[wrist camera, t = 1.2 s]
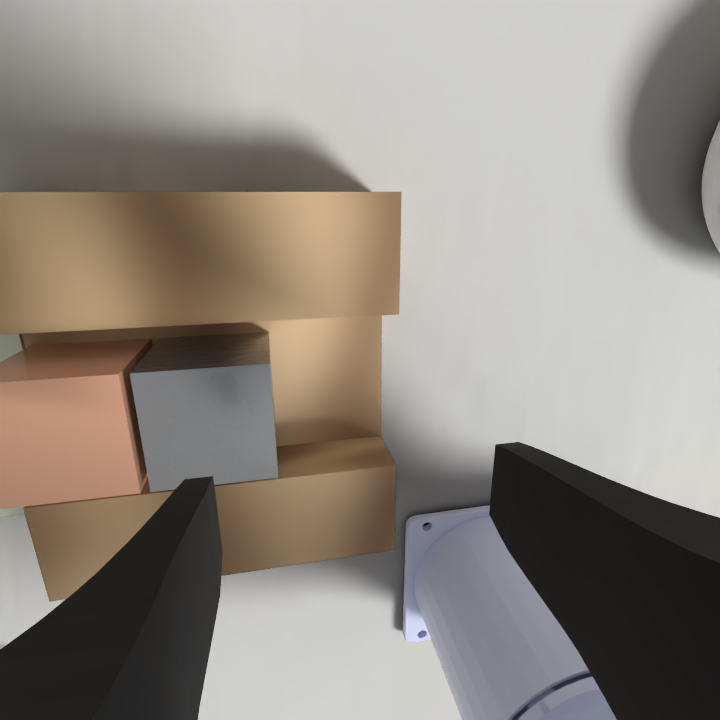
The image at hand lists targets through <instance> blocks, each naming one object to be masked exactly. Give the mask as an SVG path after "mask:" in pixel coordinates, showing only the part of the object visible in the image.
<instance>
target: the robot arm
mask: <svg viewBox="0 0 720 720" xmlns="http://www.w3.org/2000/svg"><path fill="white" fill-rule="evenodd" d="M427 522H429V524H428V525H426V526H423V524H425V523H427ZM222 555H223V550H222V542H221V534H220V526H219V518H218V511H217V503H216V495H215V487H214V479H213V476H209V477H200V478H191V479H184V480H183V482H182V483H181V484H180V485H179V486H178V487H177V488H176V489H175V490H174V491H173V493H172V494H171V495H170V496H169V497H168V498H167V499H166V501H165V502H164V503H163V504H162V505H161V506H160V507H159V509H158V510H157V511H156V512H155V513H154V514H153V515H152V516H151V518H150V519H149V520H148V521H147V522H146V523H145V524H144V525H143V526H142V527H141V528H140V530H139V531H138V532H137V533H136V534H135V535H134V536H133V537H132V538H131V539H130V540H129V541H128V542H127V543H126V544H125V545H124V546H123V547H122V548H121V549H120V550H119V551H118V552H117V553H116V554H115V555H114V556H113V557H112V558H111V559H110V560H109V561H108V562H107V563H106V564H105V565H104V566H103V567H102V568H101V569H100V570H99V571H98V572H97V573H96V574H95V575H94V576H92V577H91V578H90V579H89V580H88V581H87V582H86V583H85V584H83V585H82V586H81V587H80V588H79V589H78V590H77V591H75V592H74V593H73V594H72V595H71V596H69V597H68V598H67V599H66V600H65V601H63V602H62V603H61V604H60V605H59V606H57V607H56V608H55V609H54V610H53V611H51V612H50V613H49V614H48V615H46V616H45V617H44V618H43V619H41V620H40V621H39V622H37V623H36V624H35V625H33V626H32V627H31V628H29V629H28V630H27V631H25V632H24V633H22V634H21V635H20V636H18V637H17V638H16V639H14V640H13V641H12V642H10V643H9V644H8V645H6V646H5V647H3V648H2V649H1V650H0V720H198V713H199V706H200V700H201V695H202V690H203V684H204V679H205V674H206V668H207V663H208V657H209V652H210V647H211V641H212V636H213V631H214V625H215V620H216V614H217V609H218V603H219V597H220V586H221V572H222ZM403 635H404V638H405V640H406V641H408V642H417V641H422V640H427V639H431V640H432V643H433V645H434V648H435V650H436V653H437V656H438V658H439V661H440V663H441V666H442V668H443V671H444V674H445V676H446V679H447V681H448V684H449V686H450V689H451V692H452V694H453V697H454V699H455V702H456V705H457V707H458V710H459V712H460V715H461V717H462V720H720V518H719V517H715V516H712V515H708V514H705V513H702V512H699V511H695V510H692V509H689V508H686V507H683V506H680V505H677V504H673V503H670V502H668V501H665V500H662V499H659V498H656V497H653V496H651V495H648V494H645V493H643V492H640V491H638V490H635V489H632V488H630V487H627V486H624V485H622V484H619V483H617V482H615V481H612V480H610V479H607V478H605V477H602V476H600V475H598V474H595V473H593V472H591V471H588V470H586V469H584V468H581V467H579V466H577V465H574V464H572V463H570V462H567V461H565V460H563V459H560V458H558V457H556V456H554V455H551V454H549V453H546V452H544V451H542V450H539V449H537V448H534V447H531V446H529V445H526V444H522V443H519V442H515V443H506V444H497V445H496V446H495V457H494V467H493V478H492V488H491V499H490V505H487V506H480V507H473V508H465V509H458V510H451V511H443V512H436V513H429V514H421V515H415V516H412V517H410V518H409V519H408V520H407V522H406V535H405V570H404V606H403Z"/></svg>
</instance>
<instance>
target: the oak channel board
mask: <svg viewBox="0 0 720 720" xmlns="http://www.w3.org/2000/svg"><path fill="white" fill-rule="evenodd" d="M400 237H401V192H0V335H5V334H22V337H23V341H24V345H25V348H27V347H28V346H30V345H41V344H59V343H77V342H95V341H113V340H131V339H149V338H151V341H152V346H153V345H154V344H155V343H156V342H157V340H158V339H159V338H167V337H185V336H203V335H221V334H239V333H257V332H269V339H270V353H271V367H272V380H273V394H274V408H275V422H276V440H277V461H278V478H270V479H262V480H253V481H244V482H235V483H227V484H218V485H214V487H215V495H216V503H217V511H218V518H219V526H220V534H221V542H222V550H223V555H222V572H221V576H223V575H230V574H236V573H243V572H250V571H256V570H263V569H270V568H276V567H283V566H290V565H297V564H303V563H310V562H317V561H323V560H330V559H337V558H343V557H350V556H357V555H363V554H370V553H377V552H384V551H390V550H395V498H396V464H395V462H394V461H393V459H392V457H391V455H390V453H389V451H388V449H387V447H386V445H385V443H384V441H383V439H382V437H381V345H382V315H395V314H399V289H400ZM174 490H175V489H174ZM174 490H165V491H156V492H150V486H149V481H148V477H147V480H146V482H145V484H144V486H143V489H142V491H141V493H139V494H130V495H121V496H112V497H104V498H95V499H86V500H77V501H68V502H60V503H51V504H42V505H33V506H25V507H24V508H23V509H24V513H25V516H26V520H27V523H28V527H29V530H30V534H31V537H32V541H33V545H34V548H35V552H36V555H37V559H38V562H39V566H40V569H41V573H42V577H43V580H44V584H45V587H46V591H47V594H48V598H49V601H56V600H62V599H67V598H68V597H69V596H71V595H72V594H73V593H74V592H75V591H77V590H78V589H79V588H80V587H81V586H82V585H83V584H85V583H86V582H87V581H88V580H89V579H90V578H91V577H92V576H94V575H95V574H96V573H97V572H98V571H99V570H100V569H101V568H102V567H103V566H104V565H105V564H106V563H107V562H108V561H109V560H110V559H111V558H112V557H113V556H114V555H115V554H116V553H117V552H118V551H119V550H120V549H121V548H122V547H123V546H124V545H125V544H126V543H127V542H128V541H129V540H130V539H131V538H132V537H133V536H134V535H135V534H136V533H137V532H138V531H139V530H140V528H141V527H142V526H143V525H144V524H145V523H146V522H147V521H148V520H149V519H150V518H151V516H152V515H153V514H154V513H155V512H156V511H157V510H158V509H159V507H160V506H161V505H162V504H163V503H164V502H165V501H166V499H167V498H168V497H169V496H170V495H171V494H172V493H173V491H174Z"/></svg>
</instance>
